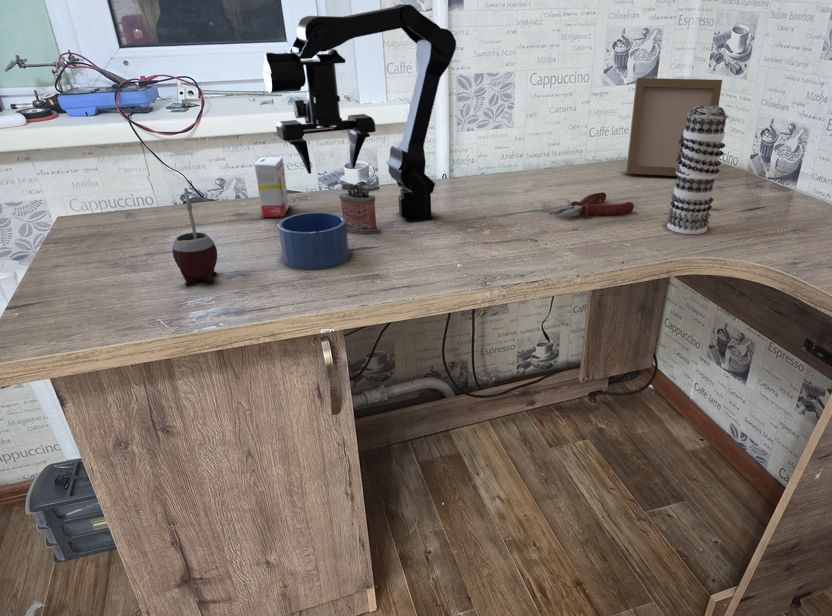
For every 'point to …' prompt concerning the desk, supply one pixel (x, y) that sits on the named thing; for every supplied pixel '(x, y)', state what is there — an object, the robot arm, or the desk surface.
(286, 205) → the ink box
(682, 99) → the photo frame
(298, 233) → the blue round bin
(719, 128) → the decorative candle
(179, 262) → the mate gourd
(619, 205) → the pliers
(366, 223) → the lighter
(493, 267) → the desk surface
